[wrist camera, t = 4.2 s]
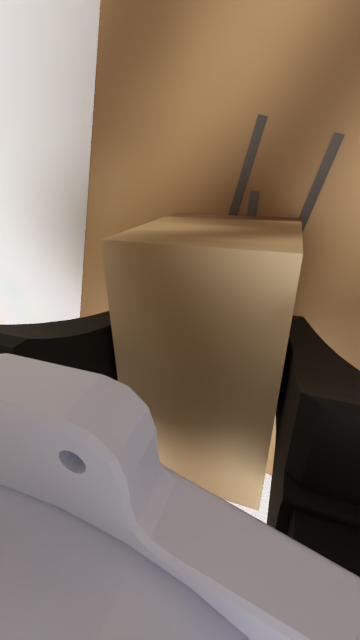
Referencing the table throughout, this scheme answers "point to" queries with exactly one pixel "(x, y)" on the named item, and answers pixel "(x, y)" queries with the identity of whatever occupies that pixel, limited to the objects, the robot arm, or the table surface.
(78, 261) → the table surface
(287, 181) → the oak board
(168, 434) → the block
